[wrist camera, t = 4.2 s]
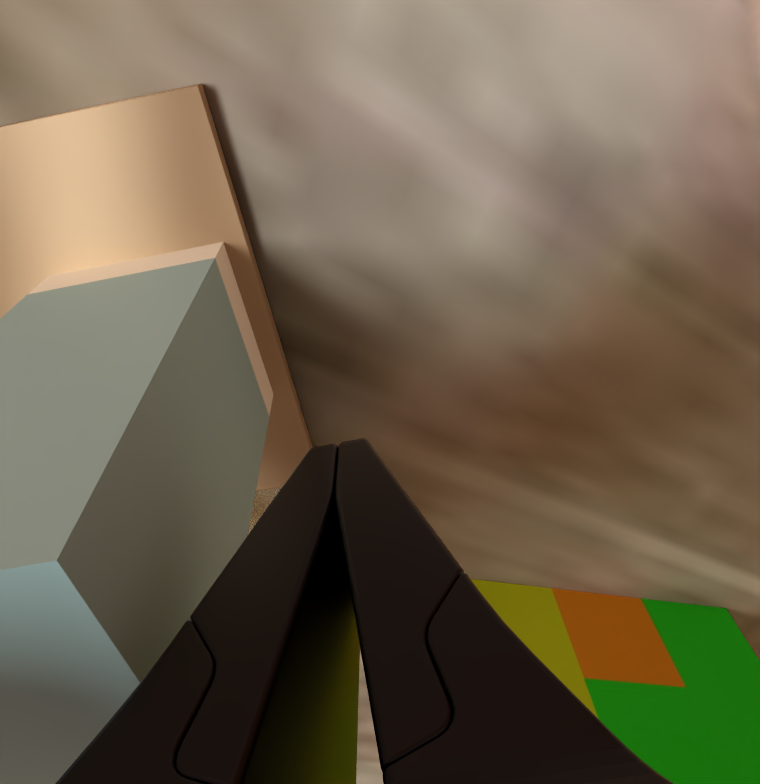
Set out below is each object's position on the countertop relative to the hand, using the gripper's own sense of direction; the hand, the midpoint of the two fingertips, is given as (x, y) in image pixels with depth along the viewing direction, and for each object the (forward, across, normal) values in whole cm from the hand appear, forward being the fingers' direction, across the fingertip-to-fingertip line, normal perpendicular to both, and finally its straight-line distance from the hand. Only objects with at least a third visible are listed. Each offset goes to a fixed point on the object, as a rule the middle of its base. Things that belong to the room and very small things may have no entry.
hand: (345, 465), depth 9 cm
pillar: (+6, +4, 0) cm, 7 cm away
